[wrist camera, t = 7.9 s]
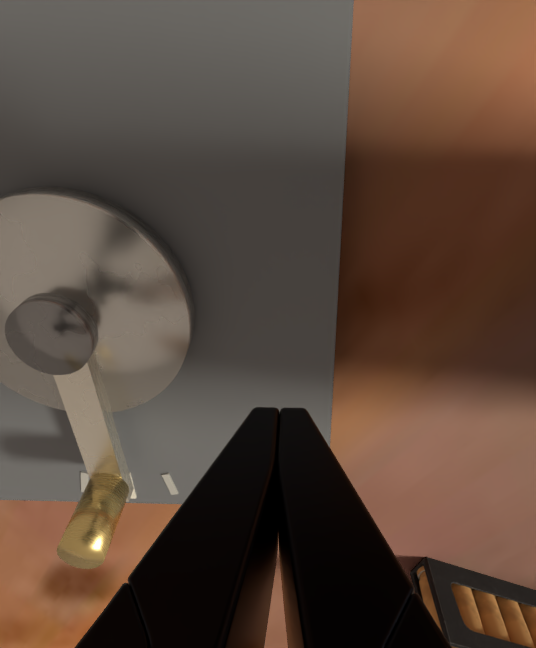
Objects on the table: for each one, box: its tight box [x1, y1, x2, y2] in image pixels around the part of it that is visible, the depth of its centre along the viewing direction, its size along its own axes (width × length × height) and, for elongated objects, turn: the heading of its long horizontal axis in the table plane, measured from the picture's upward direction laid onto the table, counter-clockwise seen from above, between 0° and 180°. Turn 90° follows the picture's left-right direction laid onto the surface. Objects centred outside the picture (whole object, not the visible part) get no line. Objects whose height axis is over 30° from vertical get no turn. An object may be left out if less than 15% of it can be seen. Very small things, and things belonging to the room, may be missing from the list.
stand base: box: [0, 0, 354, 504], centre depth 21 cm, size 26×22×1 cm
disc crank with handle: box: [0, 187, 195, 569], centre depth 19 cm, size 15×10×6 cm, turn 3°
